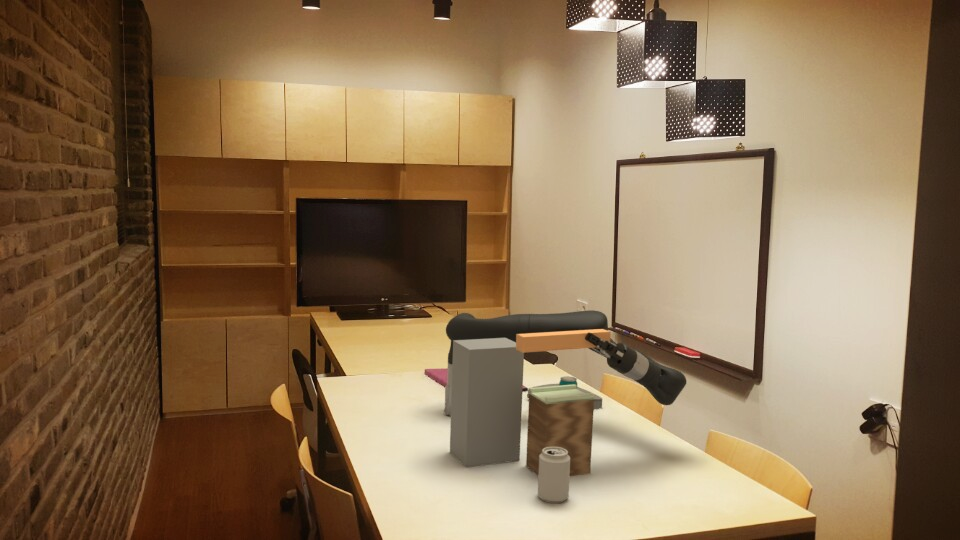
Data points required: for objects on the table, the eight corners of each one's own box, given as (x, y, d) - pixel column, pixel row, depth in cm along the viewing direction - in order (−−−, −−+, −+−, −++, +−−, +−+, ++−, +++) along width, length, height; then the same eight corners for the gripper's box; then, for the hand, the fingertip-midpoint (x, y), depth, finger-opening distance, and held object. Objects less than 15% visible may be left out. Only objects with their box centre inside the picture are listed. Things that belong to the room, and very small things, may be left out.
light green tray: (558, 416, 245) (559, 402, 244) (522, 399, 263) (523, 386, 263) (603, 409, 254) (604, 395, 254) (565, 393, 273) (566, 380, 272)
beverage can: (574, 427, 232) (577, 381, 230) (556, 426, 233) (558, 379, 231) (576, 422, 238) (578, 377, 236) (558, 420, 239) (560, 375, 237)
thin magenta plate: (423, 365, 293) (484, 361, 305) (423, 375, 293) (484, 371, 305) (466, 390, 257) (533, 385, 269) (466, 401, 257) (532, 396, 269)
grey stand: (465, 467, 196) (469, 349, 192) (449, 452, 207) (453, 340, 203) (519, 460, 202) (524, 346, 199) (501, 446, 213) (505, 337, 210)
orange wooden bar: (522, 352, 186) (523, 337, 186) (515, 349, 190) (516, 334, 189) (609, 346, 196) (610, 331, 196) (601, 343, 200) (602, 328, 200)
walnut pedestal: (543, 479, 190) (546, 404, 187) (526, 465, 199) (529, 393, 196) (590, 473, 195) (594, 399, 193) (571, 459, 204) (574, 389, 202)
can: (535, 491, 182) (537, 444, 181) (564, 491, 183) (567, 444, 181) (540, 504, 174) (542, 455, 173) (571, 504, 175) (573, 455, 174)
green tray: (546, 404, 187) (547, 398, 187) (529, 393, 196) (529, 388, 196) (594, 399, 193) (594, 394, 193) (574, 389, 202) (574, 384, 202)
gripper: (619, 344, 209) (575, 317, 202) (649, 355, 196) (603, 326, 189) (607, 367, 208) (562, 341, 201) (636, 380, 195) (590, 352, 188)
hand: (582, 334), depth 195 cm, fingers closed on orange wooden bar, 4 cm apart
